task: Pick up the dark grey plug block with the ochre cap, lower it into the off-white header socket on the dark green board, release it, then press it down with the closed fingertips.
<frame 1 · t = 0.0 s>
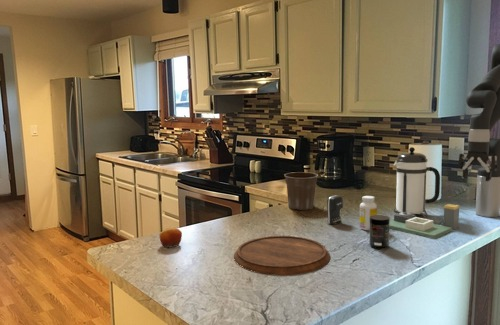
hand: (476, 179, 174), 17 cm above the counter, tool pointing down, fingers open, 8 cm apart
battery charger: (335, 223, 179), on the counter
coffee press: (412, 214, 190), on the counter
cutting board: (281, 257, 143), on the counter
fruit: (171, 246, 156), on the counter
supplement bottle: (368, 228, 170), on the counter
supplement container: (379, 246, 149), on the counter
plug: (450, 227, 168), on the counter
header board: (415, 228, 168), on the counter
plant pot: (301, 207, 207), on the counter
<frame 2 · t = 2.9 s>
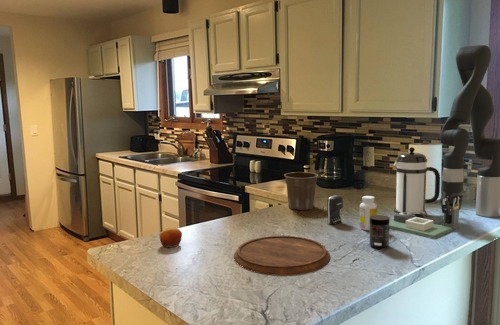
hand: (451, 222, 168), 2 cm above the counter, tool pointing down, fingers closed on plug, 4 cm apart
plug: (450, 227, 168), on the counter, touching gripper
everything else where it was.
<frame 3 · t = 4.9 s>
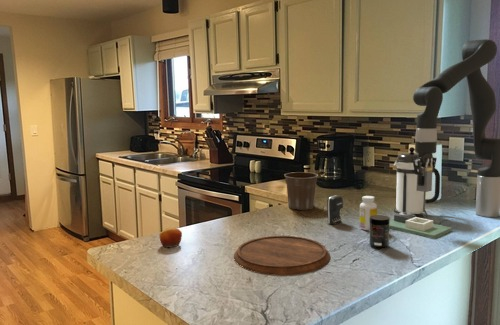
hand: (424, 184, 163), 18 cm above the counter, tool pointing down, fingers closed on plug, 4 cm apart
plug: (423, 190, 164), point 16 cm above the counter, touching gripper
everything else where it was.
when the fingers open (4 cm above the counter, at t = 7.3 s): plug stays where it is, resting on header board.
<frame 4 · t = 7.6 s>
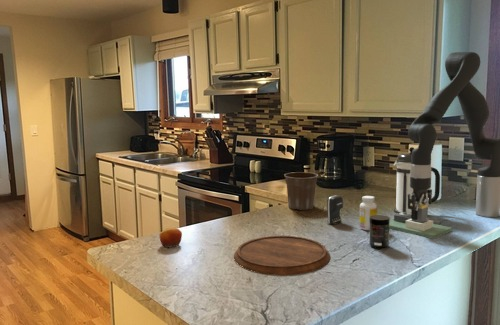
hand: (419, 217, 166), 5 cm above the counter, tool pointing down, fingers open, 7 cm apart
plug: (419, 227, 166), point 1 cm above the counter, touching header board
everything else where it was.
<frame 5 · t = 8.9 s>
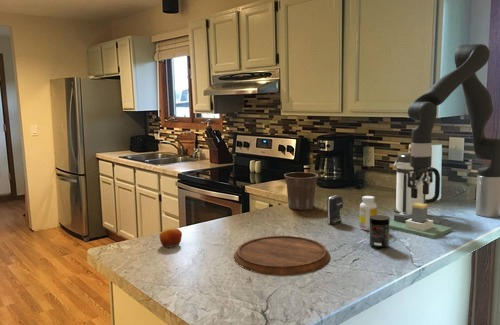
hand: (420, 196, 165), 13 cm above the counter, tool pointing down, fingers open, 8 cm apart
nothing on the counter moved.
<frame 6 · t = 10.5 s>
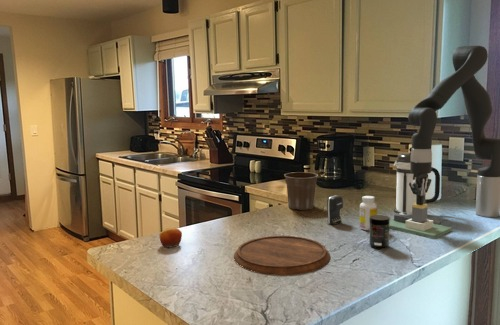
hand: (419, 204, 165), 10 cm above the counter, tool pointing down, fingers closed
plug: (419, 227, 166), point 1 cm above the counter, touching gripper, header board
everything else where it was.
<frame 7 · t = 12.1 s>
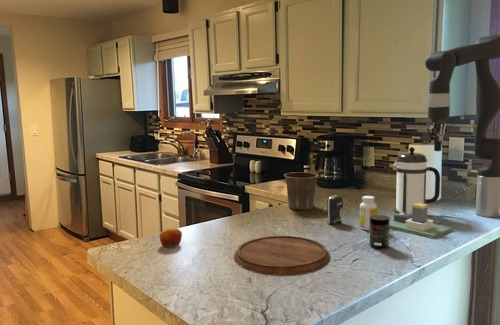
hand: (437, 150, 164), 31 cm above the counter, tool pointing down, fingers closed
plug: (419, 227, 166), point 1 cm above the counter, touching header board
everything else where it was.
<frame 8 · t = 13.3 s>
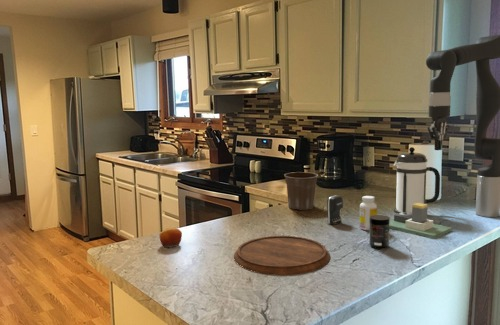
hand: (438, 150, 164), 31 cm above the counter, tool pointing down, fingers closed
nothing on the counter moved.
at the end: plug 0.1 cm from the target spot on the header board, point 1.2 cm above the header board's base; plug tilted 0°; the gripper is holding nothing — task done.
